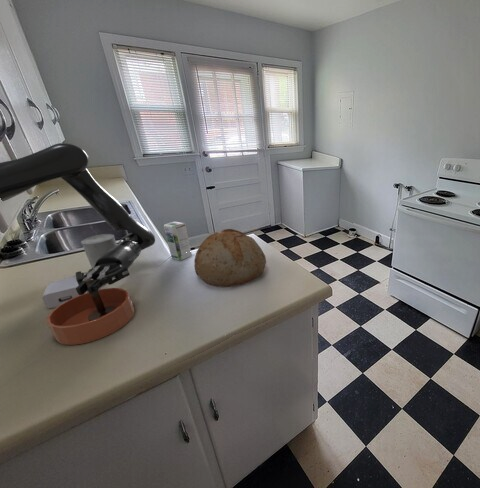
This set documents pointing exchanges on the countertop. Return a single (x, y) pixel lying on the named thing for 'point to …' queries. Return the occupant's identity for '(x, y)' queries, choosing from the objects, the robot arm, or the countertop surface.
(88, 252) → the white cylinder
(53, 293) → the white drawer box
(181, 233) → the syrup box
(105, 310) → the paper towel holder
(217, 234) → the bread
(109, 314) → the bowl
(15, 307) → the countertop surface
